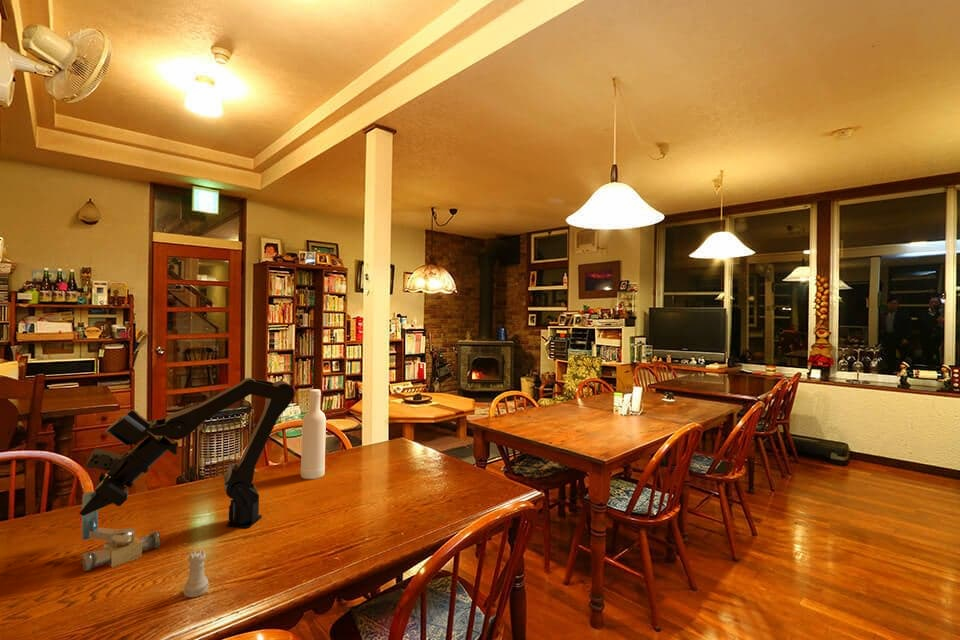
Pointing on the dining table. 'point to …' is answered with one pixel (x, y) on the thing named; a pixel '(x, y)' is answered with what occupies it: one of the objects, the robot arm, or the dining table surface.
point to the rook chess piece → (196, 575)
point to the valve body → (120, 551)
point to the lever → (95, 532)
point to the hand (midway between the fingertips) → (82, 511)
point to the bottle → (313, 439)
